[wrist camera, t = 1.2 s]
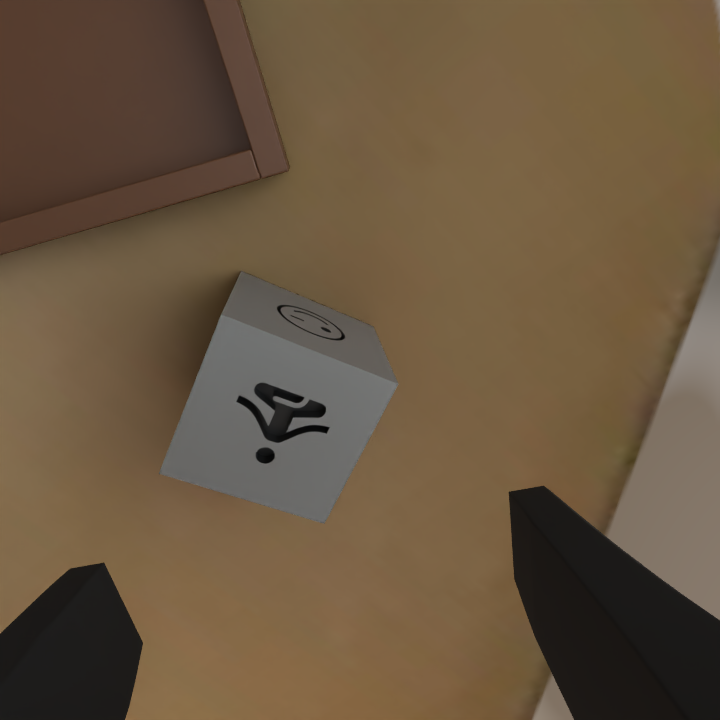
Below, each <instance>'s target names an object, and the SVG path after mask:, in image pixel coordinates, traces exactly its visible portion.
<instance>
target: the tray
mask: <svg viewBox="0 0 720 720" xmlns="http://www.w3.org/2000/svg"><path fill="white" fill-rule="evenodd" d="M289 167H290V166H289V162H288V159H287V156H286V152H285V149H284V146H283V142H282V139H281V136H280V133H279V129H278V126H277V123H276V119H275V116H274V113H273V109H272V106H271V103H270V99H269V96H268V93H267V89H266V86H265V83H264V79H263V76H262V73H261V70H260V66H259V63H258V60H257V56H256V53H255V50H254V46H253V43H252V40H251V36H250V33H249V30H248V26H247V23H246V20H245V16H244V13H243V10H242V6H241V3H240V0H0V255H2V254H6V253H9V252H13V251H16V250H19V249H23V248H26V247H30V246H33V245H37V244H40V243H43V242H47V241H50V240H54V239H57V238H61V237H64V236H67V235H71V234H74V233H78V232H81V231H85V230H88V229H91V228H95V227H98V226H102V225H105V224H109V223H112V222H115V221H119V220H122V219H126V218H129V217H133V216H136V215H139V214H143V213H146V212H150V211H153V210H157V209H160V208H163V207H167V206H170V205H174V204H177V203H181V202H184V201H188V200H191V199H194V198H198V197H201V196H205V195H208V194H212V193H215V192H218V191H222V190H225V189H229V188H232V187H236V186H239V185H242V184H246V183H249V182H253V181H256V180H259V179H261V178H266V177H270V176H273V175H277V174H280V173H284V172H287V171H288V170H289Z"/></svg>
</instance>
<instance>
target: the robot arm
mask: <svg viewBox="0 0 720 720" xmlns="http://www.w3.org/2000/svg"><path fill="white" fill-rule="evenodd" d="M509 501H510V517H511V533H512V549H513V565H514V579H515V582H516V585H517V588H518V591H519V593H520V596H521V599H522V602H523V605H524V608H525V611H526V613H527V616H528V619H529V622H530V624H531V627H532V630H533V633H534V636H535V638H536V640H537V642H538V644H539V647H540V649H541V651H542V653H543V655H544V657H545V659H546V661H547V664H548V666H549V668H550V670H551V672H552V674H553V676H554V678H555V681H556V683H557V685H558V687H559V689H560V691H561V693H562V695H563V697H564V699H565V701H566V703H567V706H568V708H569V710H570V712H571V714H572V716H573V718H574V720H720V620H718V619H717V618H715V617H714V616H713V615H711V614H710V613H708V612H707V611H705V610H704V609H702V608H701V607H700V606H698V605H697V604H695V603H694V602H692V601H691V600H689V599H688V598H687V597H685V596H684V595H682V594H681V593H680V592H678V591H677V590H675V589H674V588H673V587H671V586H670V585H669V584H667V583H666V582H664V581H663V580H662V579H660V578H659V577H658V576H656V575H655V574H654V573H652V572H651V571H650V570H648V569H647V568H646V567H644V566H643V565H642V564H641V563H639V562H638V561H636V560H635V559H634V558H633V557H631V556H630V555H629V554H627V553H626V552H625V551H623V550H622V549H621V548H620V547H618V546H617V545H616V544H614V543H613V542H612V541H611V540H609V539H608V538H607V537H606V536H604V535H603V534H602V533H601V532H600V531H598V530H597V529H596V528H595V527H593V526H592V525H591V524H590V523H588V522H587V521H586V520H585V519H584V518H582V517H581V516H580V515H579V514H578V513H576V512H575V511H574V510H573V509H572V508H570V507H569V506H568V505H567V504H566V503H564V502H563V501H562V500H561V499H560V498H558V497H557V496H556V495H555V494H554V493H552V492H551V491H550V490H549V489H547V488H546V487H545V486H540V487H534V488H528V489H522V490H517V491H511V492H509ZM142 645H143V642H142V640H141V638H140V636H139V634H138V632H137V630H136V628H135V626H134V624H133V621H132V619H131V617H130V615H129V613H128V611H127V609H126V607H125V605H124V603H123V601H122V599H121V597H120V595H119V593H118V590H117V588H116V586H115V584H114V582H113V580H112V578H111V576H110V574H109V572H108V570H107V568H106V566H105V564H104V563H100V564H94V565H88V566H82V567H77V568H71V569H69V570H68V571H67V572H66V573H65V574H64V575H62V576H61V577H60V578H59V579H58V580H57V581H55V582H54V583H53V584H52V585H51V586H50V587H49V588H48V589H47V590H46V591H45V592H44V593H42V594H41V595H40V596H39V597H38V598H37V599H36V600H35V601H34V602H33V603H32V604H31V605H30V606H29V607H28V608H27V609H26V610H25V611H23V612H22V613H21V614H20V615H19V616H18V617H17V618H16V619H15V620H14V621H13V622H12V623H11V624H10V625H9V626H8V627H7V628H6V629H5V630H4V631H3V632H2V633H1V634H0V720H125V718H126V715H127V712H128V708H129V705H130V701H131V696H132V692H133V688H134V684H135V679H136V675H137V670H138V665H139V660H140V655H141V650H142Z"/></svg>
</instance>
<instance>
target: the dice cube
mask: <svg viewBox="0 0 720 720" xmlns="http://www.w3.org/2000/svg"><path fill="white" fill-rule="evenodd" d="M397 385H398V382H397V380H396V378H395V375H394V373H393V371H392V368H391V366H390V364H389V362H388V359H387V357H386V355H385V352H384V350H383V348H382V345H381V343H380V341H379V338H378V336H377V334H376V332H375V329H374V327H373V326H371V325H368V324H366V323H364V322H361V321H359V320H357V319H354V318H352V317H349V316H347V315H345V314H342V313H340V312H338V311H335V310H333V309H330V308H328V307H326V306H323V305H321V304H318V303H316V302H314V301H311V300H309V299H307V298H304V297H302V296H299V295H297V294H295V293H292V292H290V291H288V290H285V289H283V288H280V287H278V286H276V285H273V284H271V283H268V282H266V281H264V280H261V279H259V278H257V277H254V276H252V275H249V274H247V273H245V272H242V271H241V273H240V275H239V277H238V279H237V281H236V283H235V286H234V288H233V290H232V292H231V294H230V296H229V299H228V301H227V303H226V305H225V307H224V310H223V312H222V314H221V316H220V319H219V321H218V324H217V327H216V329H215V332H214V334H213V337H212V339H211V342H210V344H209V347H208V350H207V352H206V355H205V357H204V360H203V362H202V365H201V367H200V370H199V372H198V375H197V378H196V380H195V383H194V385H193V388H192V390H191V393H190V395H189V398H188V401H187V403H186V406H185V408H184V411H183V413H182V416H181V418H180V421H179V423H178V426H177V429H176V431H175V434H174V436H173V439H172V441H171V444H170V446H169V449H168V452H167V454H166V457H165V459H164V462H163V464H162V467H161V469H160V472H159V474H162V475H165V476H169V477H172V478H175V479H178V480H182V481H185V482H188V483H192V484H195V485H198V486H202V487H205V488H208V489H211V490H215V491H218V492H221V493H225V494H228V495H231V496H235V497H238V498H241V499H244V500H248V501H251V502H254V503H258V504H261V505H264V506H268V507H271V508H274V509H277V510H281V511H284V512H287V513H291V514H294V515H297V516H301V517H304V518H307V519H310V520H314V521H317V522H320V523H325V521H326V519H327V517H328V516H329V514H330V512H331V510H332V508H333V506H334V504H335V502H336V500H337V499H338V497H339V495H340V493H341V491H342V489H343V487H344V485H345V484H346V482H347V480H348V478H349V476H350V474H351V472H352V470H353V468H354V467H355V465H356V463H357V461H358V459H359V457H360V455H361V453H362V451H363V450H364V448H365V446H366V444H367V442H368V440H369V438H370V436H371V434H372V433H373V431H374V429H375V427H376V425H377V423H378V421H379V419H380V418H381V416H382V414H383V412H384V410H385V408H386V406H387V404H388V402H389V401H390V399H391V397H392V395H393V393H394V391H395V389H396V387H397Z"/></svg>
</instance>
